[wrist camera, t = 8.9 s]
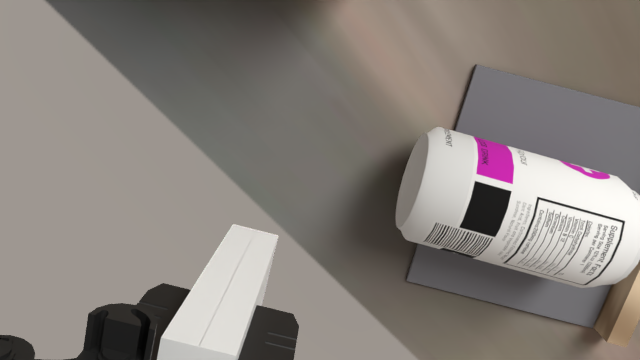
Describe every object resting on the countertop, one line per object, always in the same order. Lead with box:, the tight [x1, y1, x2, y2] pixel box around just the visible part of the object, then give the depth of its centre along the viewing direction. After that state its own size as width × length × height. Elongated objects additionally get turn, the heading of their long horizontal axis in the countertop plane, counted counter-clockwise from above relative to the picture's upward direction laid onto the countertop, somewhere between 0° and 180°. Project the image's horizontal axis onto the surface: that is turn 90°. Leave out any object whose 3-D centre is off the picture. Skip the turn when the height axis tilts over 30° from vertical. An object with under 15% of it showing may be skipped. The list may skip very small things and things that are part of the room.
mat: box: [406, 65, 640, 328], centre depth 40 cm, size 18×16×1 cm
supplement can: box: [395, 127, 640, 288], centre depth 36 cm, size 8×8×15 cm
